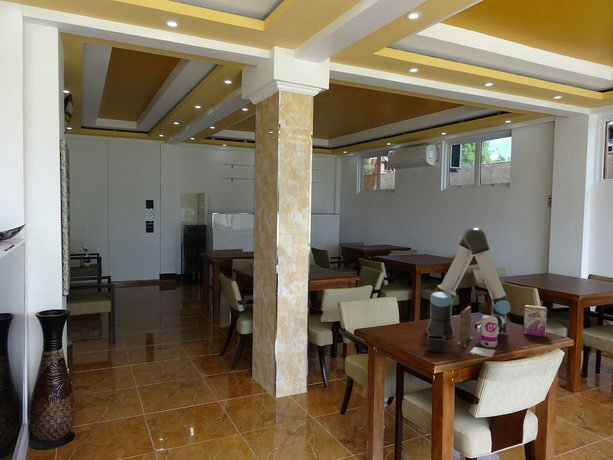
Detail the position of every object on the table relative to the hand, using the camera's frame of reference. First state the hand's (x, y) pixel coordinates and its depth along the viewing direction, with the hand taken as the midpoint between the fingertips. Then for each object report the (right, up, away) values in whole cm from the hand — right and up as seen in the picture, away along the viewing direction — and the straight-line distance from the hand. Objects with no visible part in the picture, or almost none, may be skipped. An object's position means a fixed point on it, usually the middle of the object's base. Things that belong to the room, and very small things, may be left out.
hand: (487, 331), depth 231 cm
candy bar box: (+37, -8, +25) cm, 45 cm away
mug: (-28, -9, -7) cm, 30 cm away
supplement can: (+2, -9, +4) cm, 10 cm away
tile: (-6, -9, -8) cm, 13 cm away
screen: (-8, -8, +9) cm, 15 cm away
